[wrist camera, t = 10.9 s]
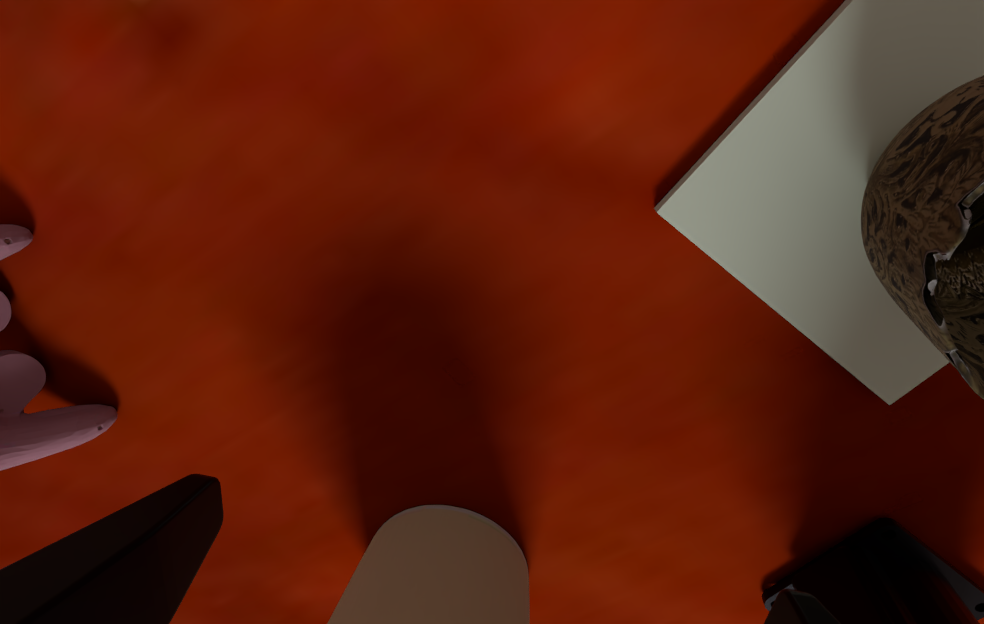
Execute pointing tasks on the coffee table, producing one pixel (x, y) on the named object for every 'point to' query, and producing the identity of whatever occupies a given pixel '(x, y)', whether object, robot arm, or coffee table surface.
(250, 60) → the coffee table surface
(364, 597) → the coffee cup
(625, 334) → the coffee table surface
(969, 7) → the felt pad
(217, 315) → the coffee table surface
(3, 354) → the video game controller
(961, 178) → the cup
